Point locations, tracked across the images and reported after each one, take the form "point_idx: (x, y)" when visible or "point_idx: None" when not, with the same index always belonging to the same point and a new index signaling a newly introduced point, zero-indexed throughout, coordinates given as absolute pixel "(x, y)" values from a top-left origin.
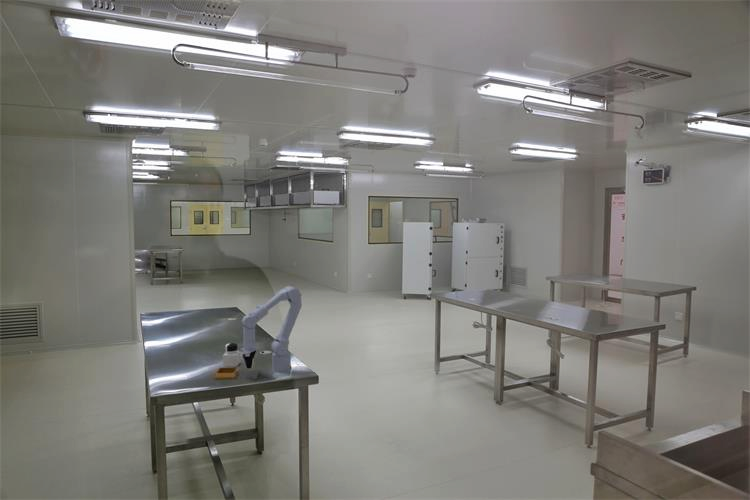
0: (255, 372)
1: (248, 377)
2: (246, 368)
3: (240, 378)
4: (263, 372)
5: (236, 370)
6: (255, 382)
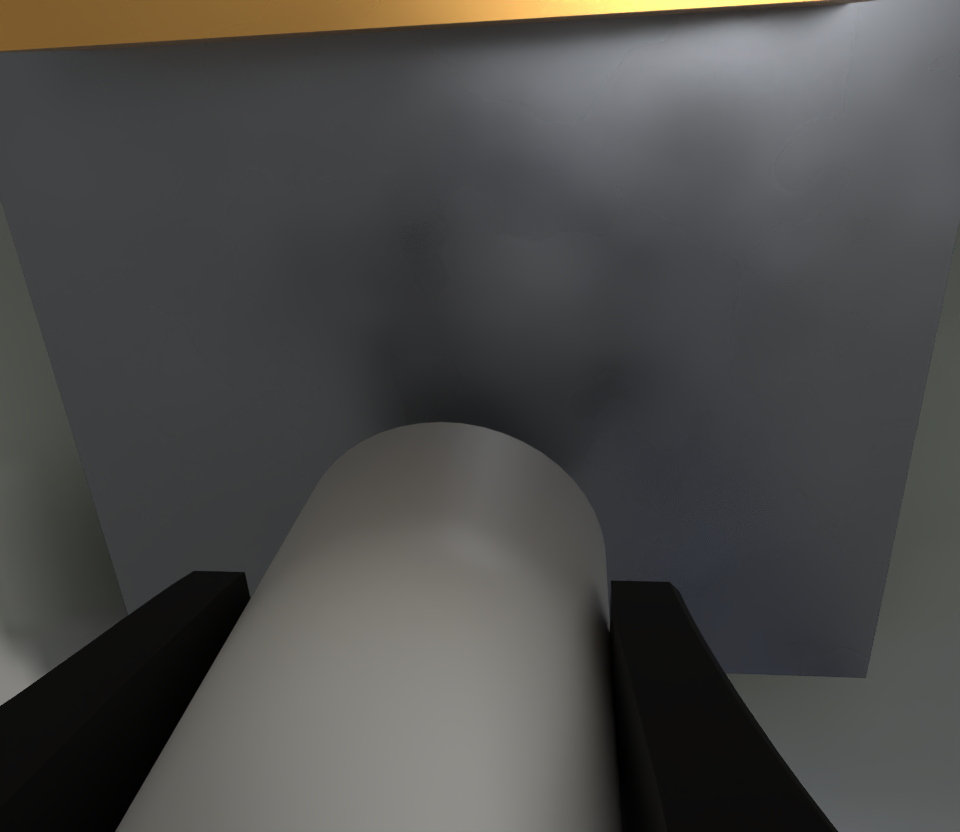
0: None
1: (210, 468)
2: (294, 524)
3: (87, 250)
4: (804, 715)
5: (328, 25)
6: (58, 611)
